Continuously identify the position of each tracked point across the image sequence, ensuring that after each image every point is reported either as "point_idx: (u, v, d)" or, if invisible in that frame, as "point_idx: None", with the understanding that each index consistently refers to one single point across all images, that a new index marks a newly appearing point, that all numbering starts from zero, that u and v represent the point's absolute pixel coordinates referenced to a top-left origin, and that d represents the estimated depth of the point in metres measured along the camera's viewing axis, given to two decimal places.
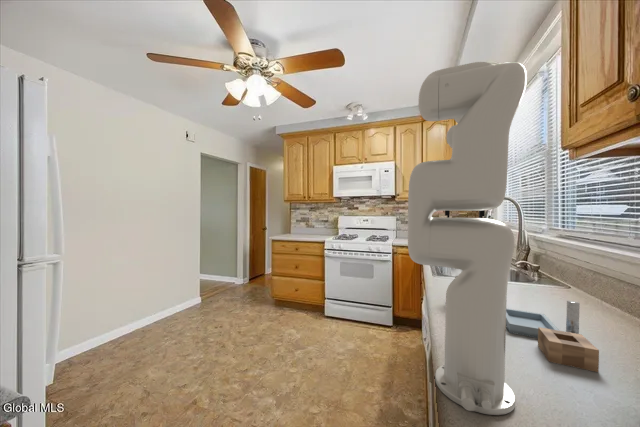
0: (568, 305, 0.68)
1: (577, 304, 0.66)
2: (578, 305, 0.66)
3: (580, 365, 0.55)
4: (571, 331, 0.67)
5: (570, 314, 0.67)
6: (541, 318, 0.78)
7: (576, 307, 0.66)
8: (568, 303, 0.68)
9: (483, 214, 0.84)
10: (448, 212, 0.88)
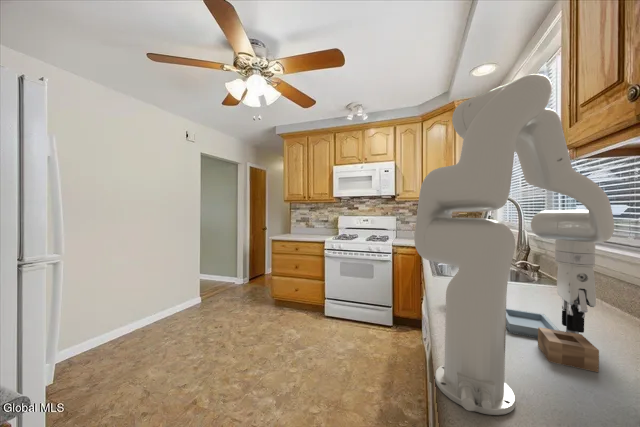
0: (568, 305, 0.68)
1: None
2: None
3: (580, 365, 0.55)
4: (571, 331, 0.67)
5: None
6: (541, 318, 0.78)
7: None
8: (568, 303, 0.68)
9: None
10: None
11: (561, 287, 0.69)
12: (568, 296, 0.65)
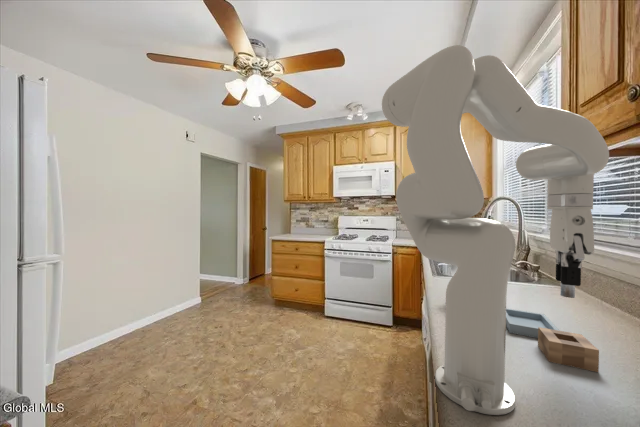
0: None
1: None
2: None
3: (580, 365, 0.55)
4: (566, 285, 0.58)
5: None
6: (541, 318, 0.78)
7: None
8: None
9: None
10: None
11: (555, 236, 0.60)
12: (562, 244, 0.57)
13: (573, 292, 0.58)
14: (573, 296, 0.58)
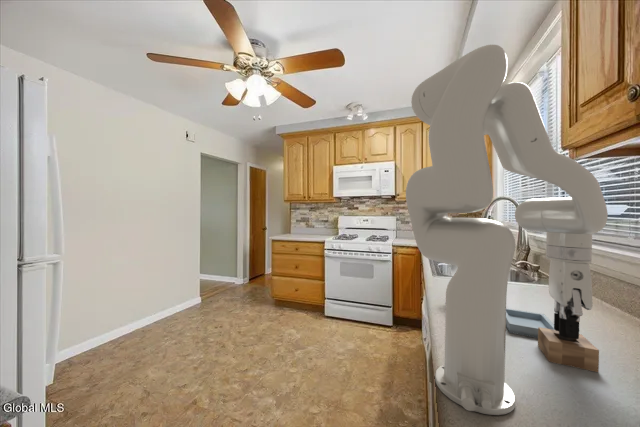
0: None
1: None
2: None
3: (580, 365, 0.55)
4: (564, 337, 0.58)
5: None
6: (541, 318, 0.78)
7: (570, 309, 0.58)
8: None
9: None
10: None
11: (553, 287, 0.60)
12: (560, 297, 0.57)
13: None
14: None
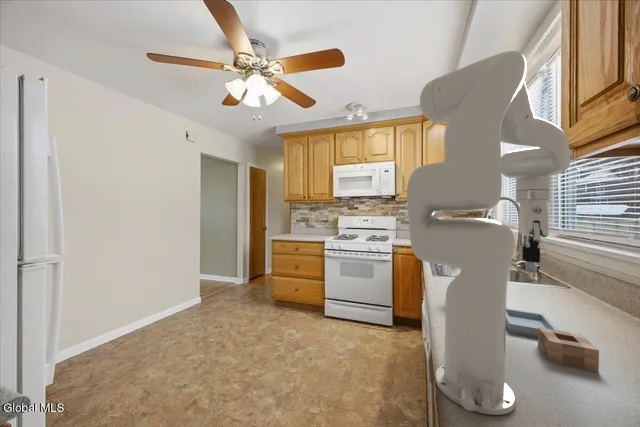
0: None
1: None
2: None
3: (580, 365, 0.55)
4: (529, 262, 0.74)
5: None
6: (541, 318, 0.78)
7: None
8: None
9: None
10: None
11: (521, 224, 0.75)
12: (525, 229, 0.72)
13: (535, 267, 0.73)
14: (535, 271, 0.73)
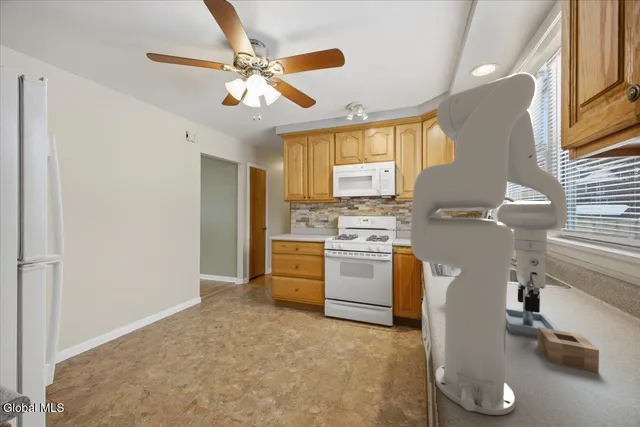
0: (524, 292, 0.75)
1: None
2: None
3: (580, 365, 0.55)
4: (526, 316, 0.74)
5: None
6: (541, 318, 0.78)
7: None
8: (524, 291, 0.75)
9: None
10: None
11: (518, 272, 0.76)
12: (522, 279, 0.73)
13: (531, 321, 0.74)
14: (531, 325, 0.74)
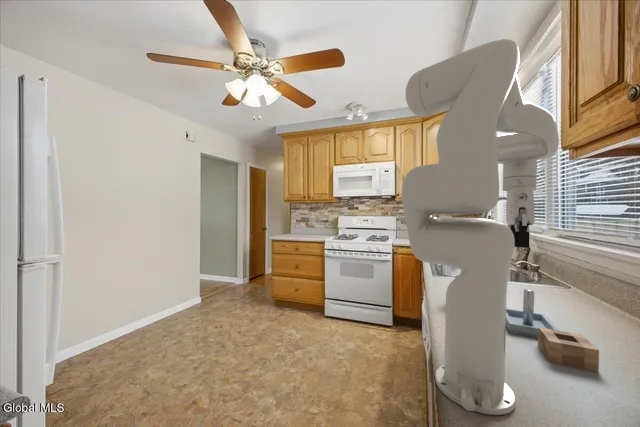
0: (524, 293, 0.75)
1: (532, 292, 0.74)
2: (533, 293, 0.74)
3: (580, 365, 0.55)
4: (526, 316, 0.74)
5: (526, 301, 0.74)
6: (541, 318, 0.78)
7: (530, 294, 0.74)
8: (524, 291, 0.75)
9: None
10: None
11: (507, 212, 0.73)
12: (511, 217, 0.70)
13: (532, 322, 0.74)
14: (531, 325, 0.74)
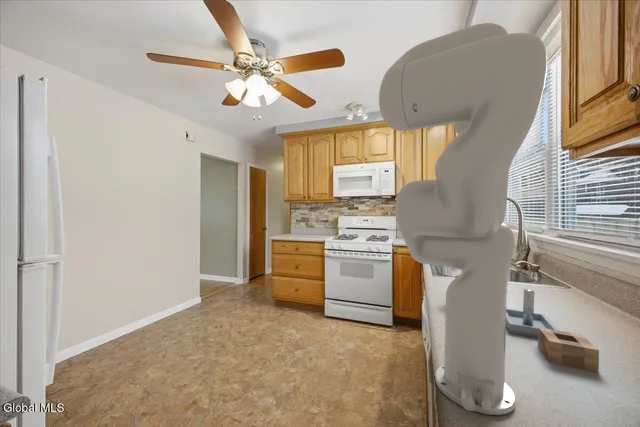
0: (524, 293, 0.75)
1: (532, 292, 0.74)
2: (533, 293, 0.74)
3: (580, 365, 0.55)
4: (526, 316, 0.74)
5: (526, 301, 0.74)
6: (541, 318, 0.78)
7: (531, 294, 0.74)
8: (524, 291, 0.75)
9: None
10: None
11: None
12: None
13: (532, 322, 0.74)
14: (531, 325, 0.74)
